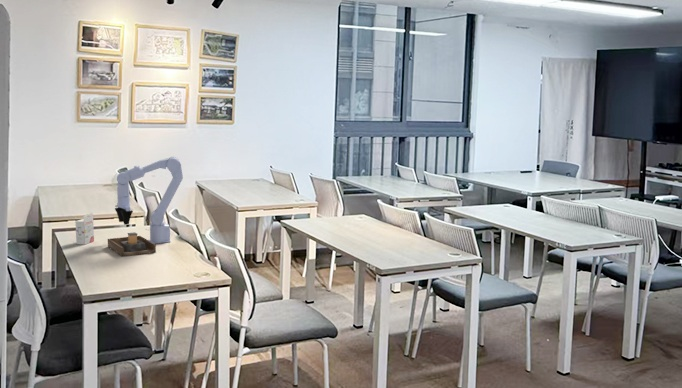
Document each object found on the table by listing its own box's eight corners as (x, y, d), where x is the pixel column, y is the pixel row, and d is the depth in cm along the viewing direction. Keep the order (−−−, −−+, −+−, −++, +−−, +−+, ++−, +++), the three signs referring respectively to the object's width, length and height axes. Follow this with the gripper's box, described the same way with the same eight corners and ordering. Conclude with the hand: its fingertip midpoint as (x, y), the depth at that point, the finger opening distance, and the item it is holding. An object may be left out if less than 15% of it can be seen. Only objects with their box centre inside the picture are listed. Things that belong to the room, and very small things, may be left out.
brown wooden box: (140, 243, 344) (139, 235, 343) (155, 252, 326) (155, 244, 326) (107, 246, 335) (107, 238, 334) (122, 256, 317) (121, 248, 316)
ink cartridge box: (85, 240, 347) (84, 212, 344) (94, 241, 346) (93, 212, 343) (75, 244, 338) (74, 214, 336) (84, 245, 337) (84, 215, 335)
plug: (135, 248, 331) (134, 232, 330) (137, 250, 328) (137, 233, 327) (127, 249, 329) (127, 233, 328) (130, 250, 326) (130, 234, 325)
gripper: (110, 194, 345) (111, 221, 347) (120, 198, 334) (120, 226, 336) (124, 193, 349) (125, 220, 351) (134, 197, 338) (134, 225, 340)
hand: (123, 223), depth 344 cm, fingers open, 7 cm apart
